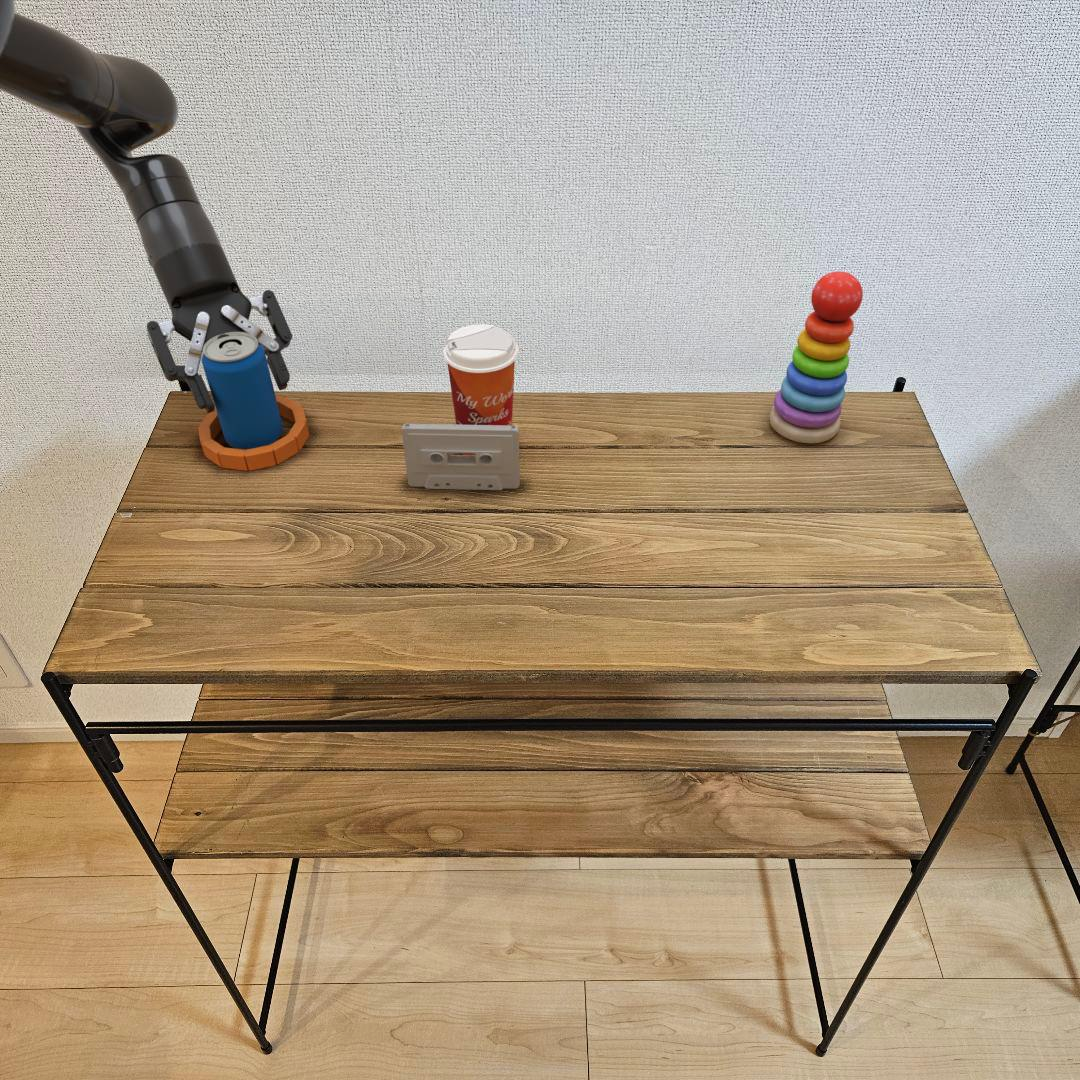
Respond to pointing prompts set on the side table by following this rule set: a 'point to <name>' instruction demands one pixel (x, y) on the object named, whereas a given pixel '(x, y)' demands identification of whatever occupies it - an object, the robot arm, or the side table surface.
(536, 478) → the side table surface
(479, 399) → the paper cup
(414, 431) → the cassette
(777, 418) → the stacking toy
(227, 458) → the ring
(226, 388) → the beverage can
